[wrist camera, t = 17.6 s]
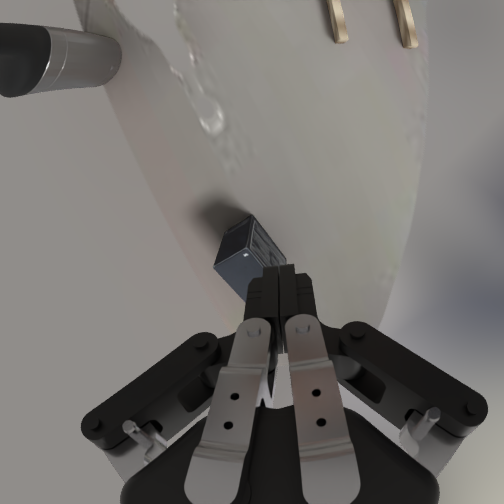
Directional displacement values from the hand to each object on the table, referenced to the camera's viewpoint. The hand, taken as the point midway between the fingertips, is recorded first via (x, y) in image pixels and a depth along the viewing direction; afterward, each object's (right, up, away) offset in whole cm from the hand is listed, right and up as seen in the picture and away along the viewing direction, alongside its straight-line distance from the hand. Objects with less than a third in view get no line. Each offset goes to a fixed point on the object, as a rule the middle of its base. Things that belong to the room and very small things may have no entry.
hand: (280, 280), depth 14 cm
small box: (-1, +2, +35) cm, 35 cm away
